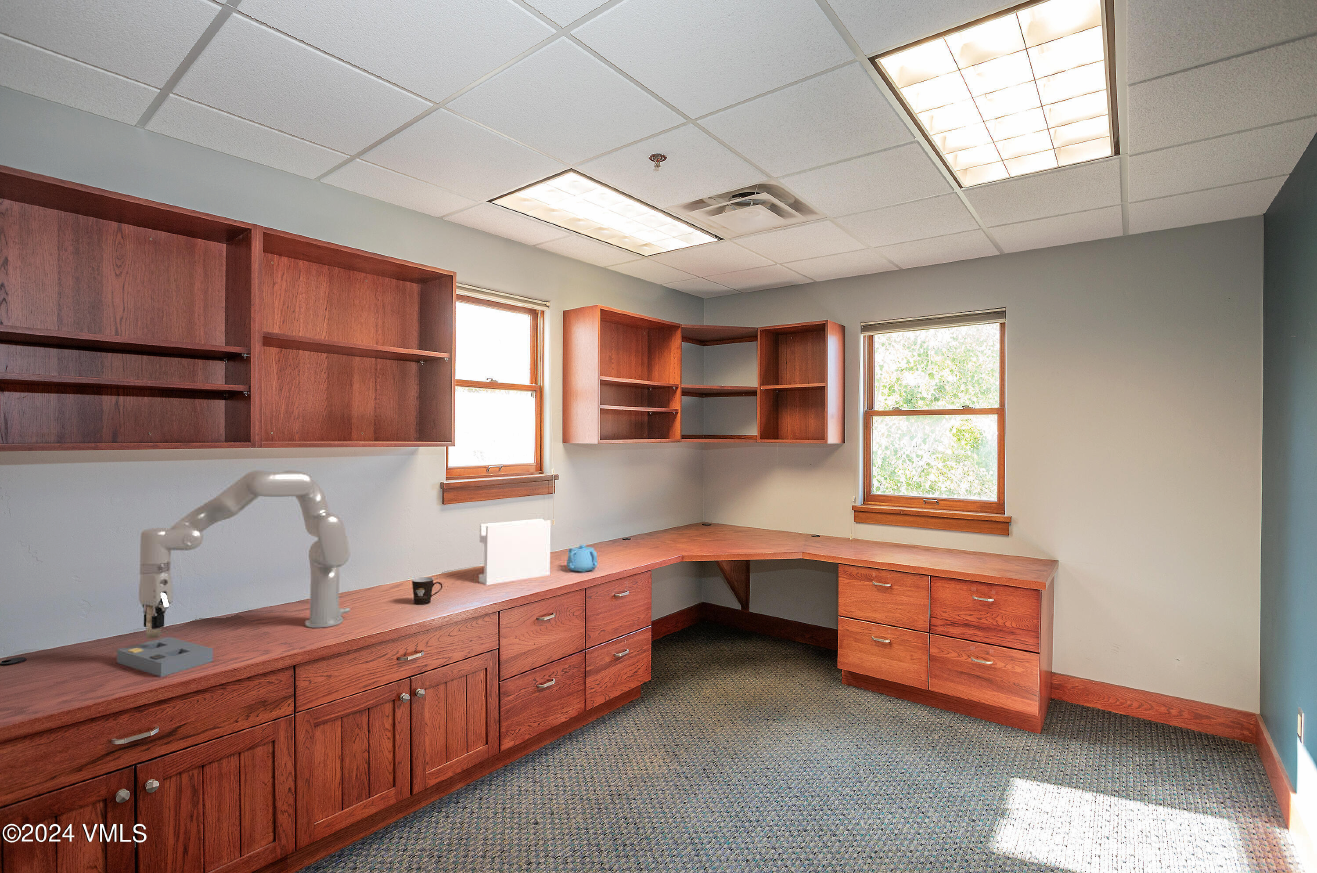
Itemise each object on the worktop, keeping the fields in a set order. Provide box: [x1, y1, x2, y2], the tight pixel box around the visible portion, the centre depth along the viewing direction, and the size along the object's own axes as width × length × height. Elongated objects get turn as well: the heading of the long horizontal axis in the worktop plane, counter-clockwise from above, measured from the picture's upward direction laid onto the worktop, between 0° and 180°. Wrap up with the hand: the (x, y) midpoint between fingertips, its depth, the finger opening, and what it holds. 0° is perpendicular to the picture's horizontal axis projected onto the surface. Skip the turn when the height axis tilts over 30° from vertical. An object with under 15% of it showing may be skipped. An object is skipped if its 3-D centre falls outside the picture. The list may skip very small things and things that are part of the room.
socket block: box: [116, 636, 214, 678], centre depth 194 cm, size 14×24×4 cm, turn 65°
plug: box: [145, 603, 162, 640], centre depth 196 cm, size 4×4×10 cm
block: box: [478, 518, 552, 586], centre depth 312 cm, size 35×8×28 cm, turn 132°
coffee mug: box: [411, 576, 443, 606], centre depth 264 cm, size 12×9×10 cm
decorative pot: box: [566, 544, 599, 573], centre depth 333 cm, size 16×16×14 cm
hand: (153, 626), depth 196 cm, fingers closed on plug, 3 cm apart
